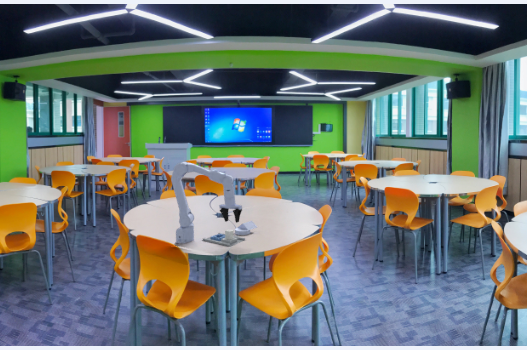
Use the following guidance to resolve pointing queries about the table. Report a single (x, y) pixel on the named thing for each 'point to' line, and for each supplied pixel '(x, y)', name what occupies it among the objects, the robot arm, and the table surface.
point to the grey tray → (224, 240)
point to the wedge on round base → (245, 228)
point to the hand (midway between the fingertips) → (232, 221)
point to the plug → (229, 235)
